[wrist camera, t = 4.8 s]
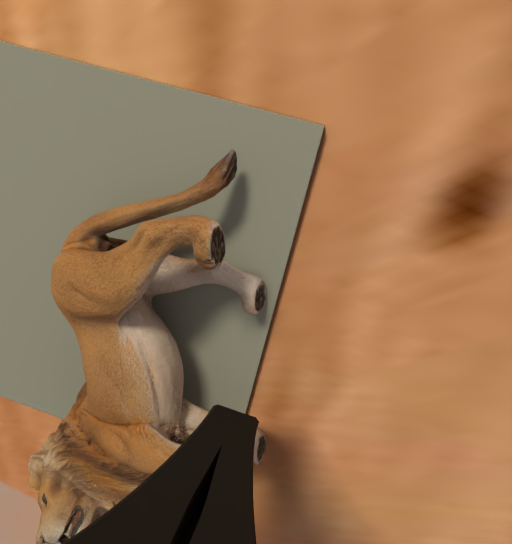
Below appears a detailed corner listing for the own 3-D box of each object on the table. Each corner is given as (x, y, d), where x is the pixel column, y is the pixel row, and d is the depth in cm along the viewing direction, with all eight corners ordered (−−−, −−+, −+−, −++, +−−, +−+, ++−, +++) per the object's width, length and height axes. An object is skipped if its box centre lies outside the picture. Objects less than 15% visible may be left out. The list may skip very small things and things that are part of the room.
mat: (324, 125, 13) (323, 127, 12) (228, 474, 20) (226, 480, 20) (-36, 31, 14) (-44, 30, 14) (2, 390, 22) (-3, 394, 21)
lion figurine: (204, 649, 13) (-11, 549, 16) (265, 523, 18) (91, 464, 21) (213, 142, 10) (-56, 139, 13) (283, 155, 15) (75, 151, 18)
